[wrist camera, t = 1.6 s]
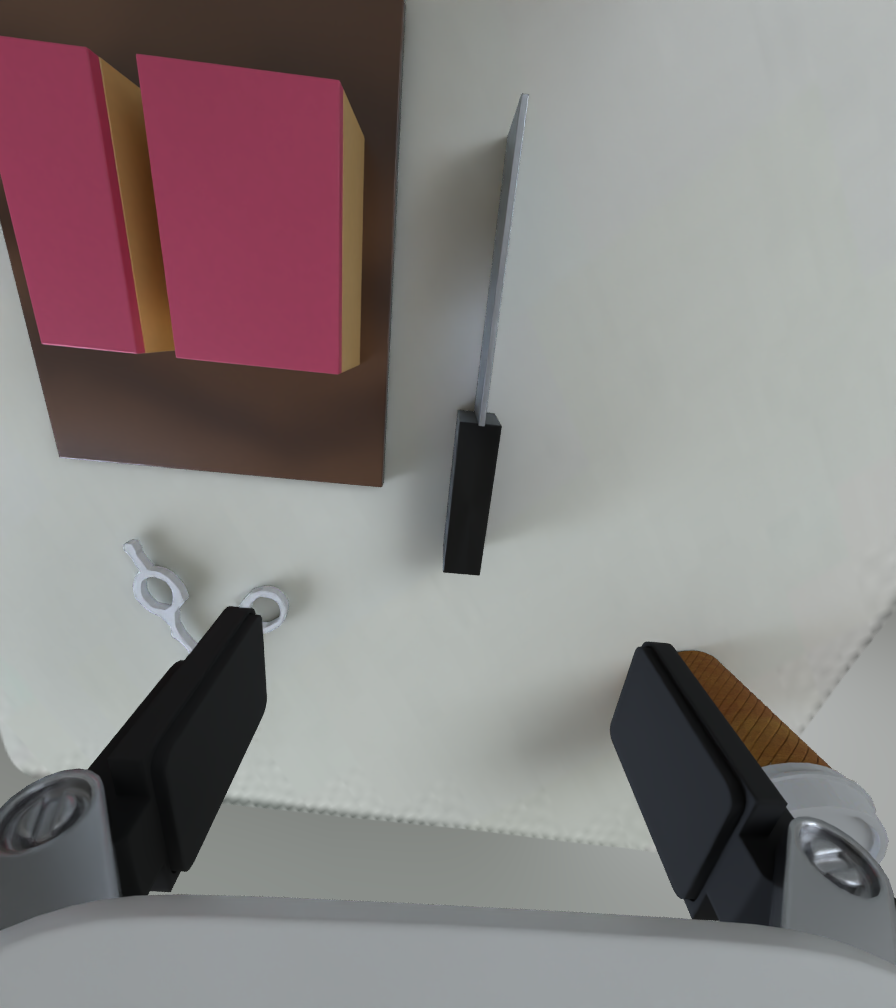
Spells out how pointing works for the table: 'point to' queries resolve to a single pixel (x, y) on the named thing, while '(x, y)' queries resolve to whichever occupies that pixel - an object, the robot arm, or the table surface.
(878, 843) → the disposable coffee cup
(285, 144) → the cake
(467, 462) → the knife
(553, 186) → the table surface
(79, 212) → the cake slice
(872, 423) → the table surface
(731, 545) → the table surface
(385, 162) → the cake board
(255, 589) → the scissors
